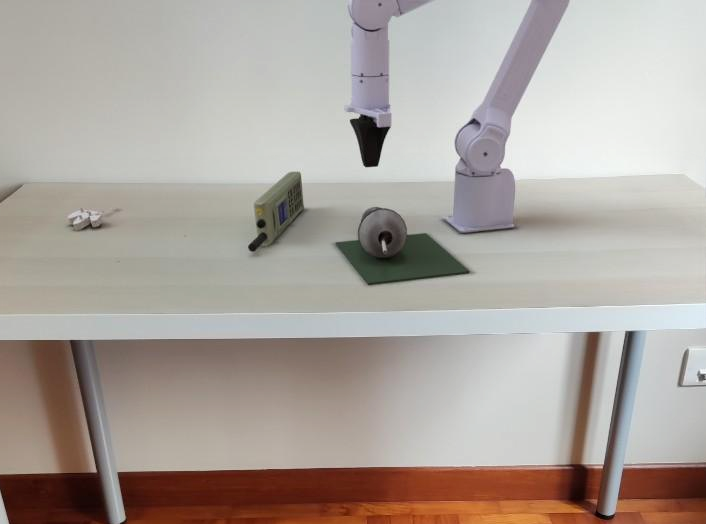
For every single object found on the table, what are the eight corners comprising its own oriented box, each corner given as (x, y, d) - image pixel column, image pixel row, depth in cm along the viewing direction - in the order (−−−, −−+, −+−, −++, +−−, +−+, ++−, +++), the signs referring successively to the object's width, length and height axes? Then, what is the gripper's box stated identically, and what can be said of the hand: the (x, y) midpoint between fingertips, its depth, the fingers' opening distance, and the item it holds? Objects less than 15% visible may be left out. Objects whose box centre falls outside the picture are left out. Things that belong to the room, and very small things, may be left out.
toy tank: (63, 230, 134) (60, 215, 133) (85, 211, 144) (83, 196, 143) (97, 230, 134) (95, 214, 132) (117, 210, 144) (115, 196, 142)
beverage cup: (405, 210, 129) (424, 231, 111) (385, 251, 131) (400, 278, 113) (364, 190, 127) (376, 208, 109) (344, 232, 130) (353, 257, 111)
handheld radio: (307, 209, 143) (263, 256, 122) (289, 209, 144) (243, 256, 123) (303, 171, 140) (258, 212, 119) (285, 171, 141) (237, 212, 119)
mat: (425, 234, 130) (425, 233, 130) (469, 272, 115) (469, 270, 115) (335, 244, 127) (335, 242, 127) (368, 284, 112) (368, 282, 112)
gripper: (332, 69, 127) (334, 157, 133) (358, 82, 115) (359, 179, 121) (375, 66, 128) (375, 154, 135) (405, 79, 116) (403, 175, 123)
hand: (370, 166), depth 128 cm, fingers closed
